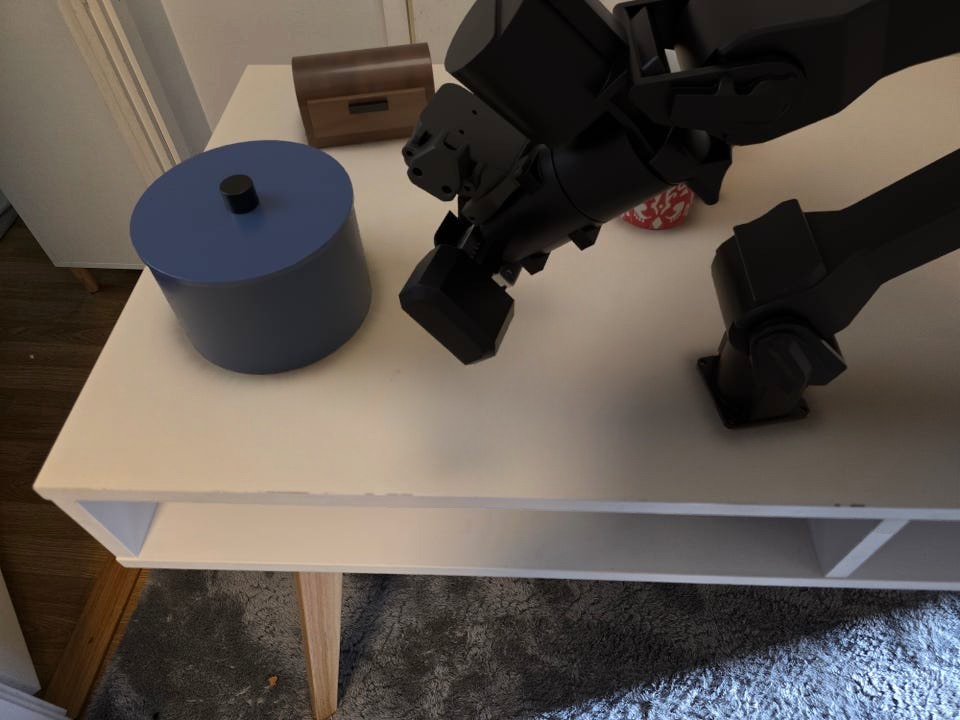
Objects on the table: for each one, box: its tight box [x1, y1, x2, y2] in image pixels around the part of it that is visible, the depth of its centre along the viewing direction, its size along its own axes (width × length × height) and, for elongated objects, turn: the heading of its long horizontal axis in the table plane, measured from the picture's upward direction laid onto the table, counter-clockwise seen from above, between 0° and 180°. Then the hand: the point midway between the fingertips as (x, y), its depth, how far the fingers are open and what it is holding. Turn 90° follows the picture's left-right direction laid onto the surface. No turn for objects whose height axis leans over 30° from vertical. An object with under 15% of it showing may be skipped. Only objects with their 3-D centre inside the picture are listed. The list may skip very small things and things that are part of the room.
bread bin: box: [291, 41, 436, 149], centre depth 72 cm, size 8×14×8 cm, turn 100°
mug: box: [619, 49, 696, 230], centre depth 61 cm, size 13×9×14 cm
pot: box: [129, 139, 373, 375], centre depth 54 cm, size 16×16×12 cm
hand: (424, 272), depth 49 cm, fingers closed
